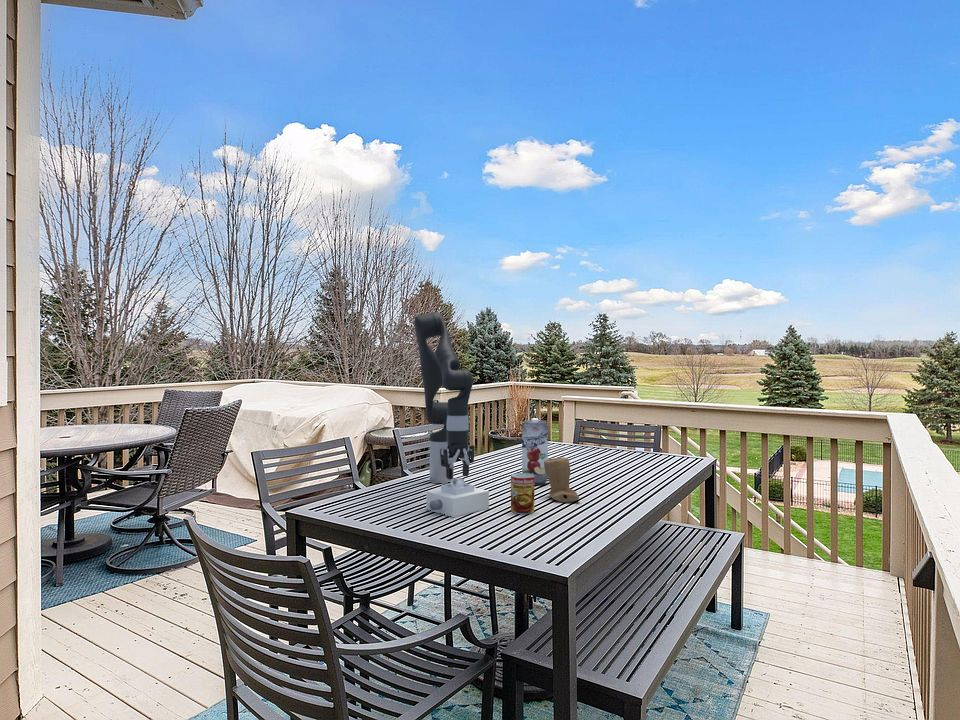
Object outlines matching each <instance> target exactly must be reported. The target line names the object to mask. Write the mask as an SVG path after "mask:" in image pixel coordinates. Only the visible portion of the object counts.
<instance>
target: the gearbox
mask: <svg viewBox="0 0 960 720" xmlns="http://www.w3.org/2000/svg"><path fill="white" fill-rule="evenodd" d="M425 496H426V497H425V499H426V501H425V502H426V503H425V504H426V508H425V509H426V510H427V509H428V510H427V511H430V510H431V512H434V513H437V512H438V514H440V513H441V515H444V514H445V516H447V515H448V516H447V517H450V516H451V518H457V517H460V516H461V517H462V516H464V515H468V514H473V513H477V512H481V511H484V510H488V509H490V491H489V490H486V489H484V488H483V489H481V488H478V487H475V485H474V484H469V483H467V482H466V483H465V482H464V487H461V488H454V487H451V482H450V483H445V484H440V488H437V489H432V490H427V491H426V495H425Z"/></svg>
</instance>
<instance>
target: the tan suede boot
mask: <svg viewBox="0 0 960 720" xmlns="http://www.w3.org/2000/svg"><path fill="white" fill-rule="evenodd" d="M544 468H545V472H546V475H547V480H548V483H549V486H550V490H549V492H548V494H549V496H550V497H551V499H553V500H556V501H558V502H561V503H571V502H575V501H578V500H579V499H580V496H579V495H578V493H577V492H576V491H575V490H574V489H571V488H570V477H571V465H570V460H569V458H568V457H562V456H561V457H555V458H553V457H552V458H548V459H547V460H545V461H544Z"/></svg>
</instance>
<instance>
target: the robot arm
mask: <svg viewBox="0 0 960 720" xmlns="http://www.w3.org/2000/svg"><path fill="white" fill-rule="evenodd" d="M413 320H414V322H413V323H414V331H415V336H416V341H417V347H418V353H419V360H420V361H419V362H420V370H421V377H422V379H421V380H422V383H423V392H424V404H425V418H426V421H427V423H428V424H429V425H443V427H442V428H441V429H440V430H438V431H435V432H432V433H430V435H429V483H430V482H432V483H431V484H435V483H445V484H449V483H448V482H450V483H451V479H454V478H455V477H454V473H455V472H454V471H455V470H454V464H455V463H456V461H457V460H458V459H460V460H461V462H462V476H463V477H469V474H470V465H471V464H473V463H474V462H475V450H476V448H475V445H472V444H468V443H469V441H470V440H469V439H470V438H469V436H470V435H469V434H470V433H469V431H470V430H469V428H470V427H469V426H470V425H469V424H470V423H469V422H470V421H469V400H470V396H471V392H472V388H473V385H474V376H473V374H472V372H471V371H470V370H468V369H460V368H461V361H460V360H459V358H458V355H457V353H456V352H455V349H454V347H453V344H452V341H451V337H450V334H449V331H448V327H447V324H446V322H445V319H444V317H443V315H442V314H441V313H440V312H439V311H432V312H427V313H424V314H423V313H422V314H419V315H416V316H415V317H414V319H413ZM439 336H440V337H439ZM437 337H439V340H438V343H437V346H436V349H435V351H434V350H433V349H432V348H431V347H430V346H429V344H428V342H427V339H431V338H437ZM442 386H443V388H444V389H445V390H446V391H451V392H453V391H454V392H457V391H459V393H458V395H457V396H453V397H451V398H449V399H447V401H445V402H443V401H442V402H440V401H439V402H436V401H435V400H434V399H435V396H436V395H437V393H438V391H439V390H440V388H441V387H442ZM434 401H435V402H434Z"/></svg>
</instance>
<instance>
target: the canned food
mask: <svg viewBox="0 0 960 720" xmlns="http://www.w3.org/2000/svg"><path fill="white" fill-rule="evenodd" d="M510 511H511V513H514V514H517V515H530V514H533V513H535V485H534V475H533V474H529V473H522V472H515V473H511V474H510Z"/></svg>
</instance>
